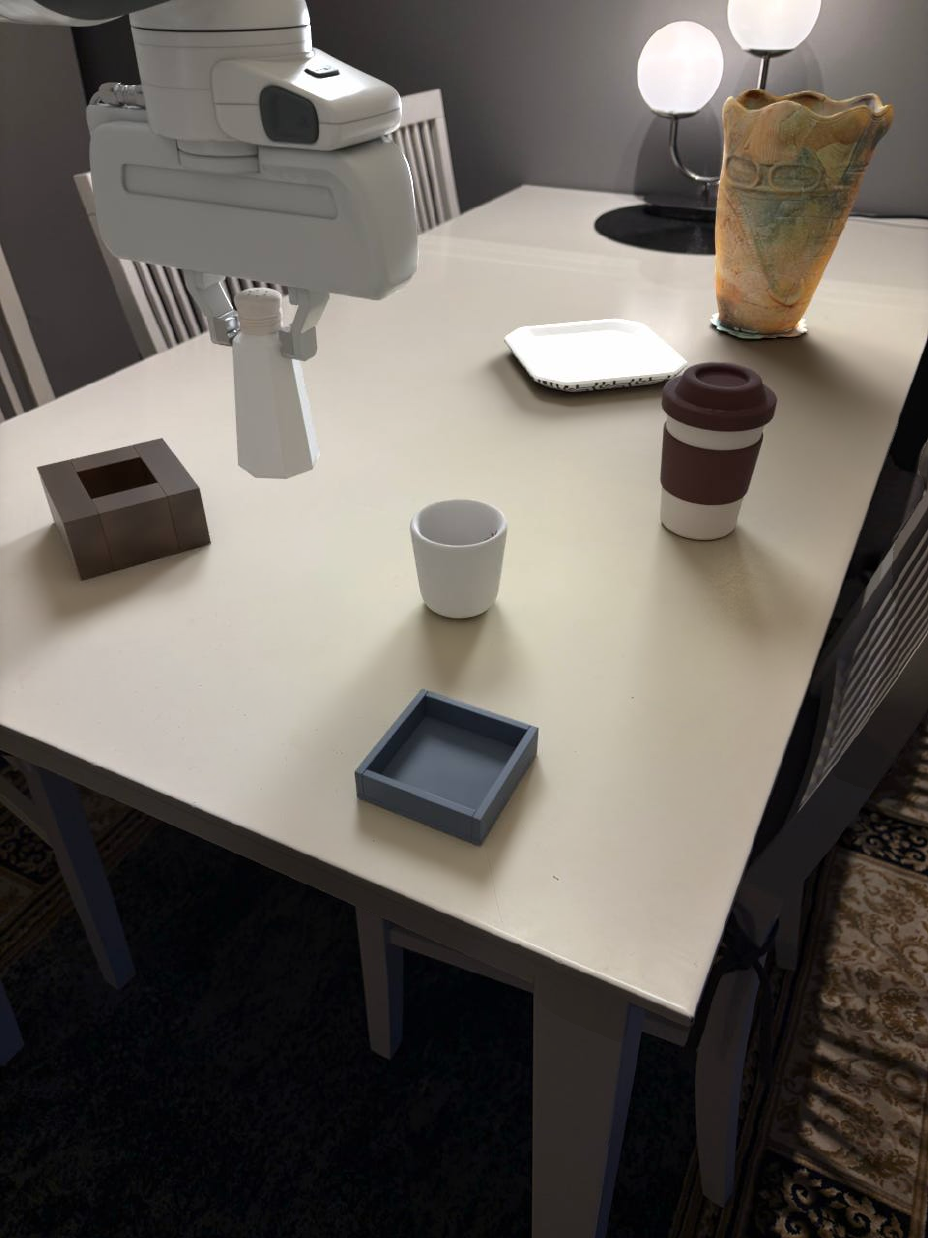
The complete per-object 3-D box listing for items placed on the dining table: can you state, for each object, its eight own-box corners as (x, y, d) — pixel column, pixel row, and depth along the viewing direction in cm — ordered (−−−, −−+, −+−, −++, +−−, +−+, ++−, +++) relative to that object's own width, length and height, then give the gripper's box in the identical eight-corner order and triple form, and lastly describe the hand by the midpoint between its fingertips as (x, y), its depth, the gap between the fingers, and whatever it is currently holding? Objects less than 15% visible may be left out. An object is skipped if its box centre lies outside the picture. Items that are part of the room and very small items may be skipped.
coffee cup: (676, 487, 95) (698, 346, 86) (766, 518, 90) (799, 372, 80) (626, 526, 88) (644, 378, 79) (720, 561, 83) (750, 408, 74)
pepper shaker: (221, 469, 60) (190, 299, 53) (271, 437, 63) (248, 274, 57) (289, 487, 58) (266, 313, 51) (336, 453, 61) (321, 286, 55)
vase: (869, 341, 128) (935, 97, 110) (744, 358, 123) (792, 105, 105) (782, 295, 144) (827, 76, 126) (668, 309, 139) (698, 83, 121)
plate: (696, 386, 115) (699, 370, 114) (540, 403, 112) (541, 385, 110) (635, 331, 131) (637, 316, 130) (497, 343, 128) (497, 328, 126)
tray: (356, 797, 61) (353, 771, 59) (422, 713, 67) (421, 688, 66) (480, 847, 58) (480, 820, 56) (537, 753, 64) (538, 727, 63)
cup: (408, 561, 84) (404, 484, 79) (494, 555, 84) (495, 478, 80) (416, 632, 75) (412, 551, 70) (511, 625, 76) (514, 544, 71)
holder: (81, 580, 81) (62, 522, 78) (54, 521, 90) (36, 466, 86) (211, 543, 86) (199, 487, 83) (174, 490, 95) (162, 437, 91)
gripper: (37, 86, 49) (99, 339, 57) (365, 112, 42) (380, 397, 50) (121, 73, 53) (166, 310, 62) (429, 95, 46) (434, 359, 55)
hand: (264, 349), depth 56 cm, fingers closed on pepper shaker, 4 cm apart
